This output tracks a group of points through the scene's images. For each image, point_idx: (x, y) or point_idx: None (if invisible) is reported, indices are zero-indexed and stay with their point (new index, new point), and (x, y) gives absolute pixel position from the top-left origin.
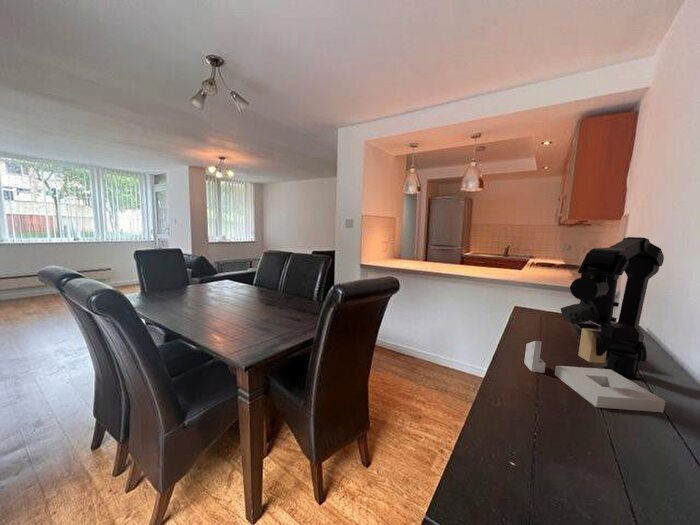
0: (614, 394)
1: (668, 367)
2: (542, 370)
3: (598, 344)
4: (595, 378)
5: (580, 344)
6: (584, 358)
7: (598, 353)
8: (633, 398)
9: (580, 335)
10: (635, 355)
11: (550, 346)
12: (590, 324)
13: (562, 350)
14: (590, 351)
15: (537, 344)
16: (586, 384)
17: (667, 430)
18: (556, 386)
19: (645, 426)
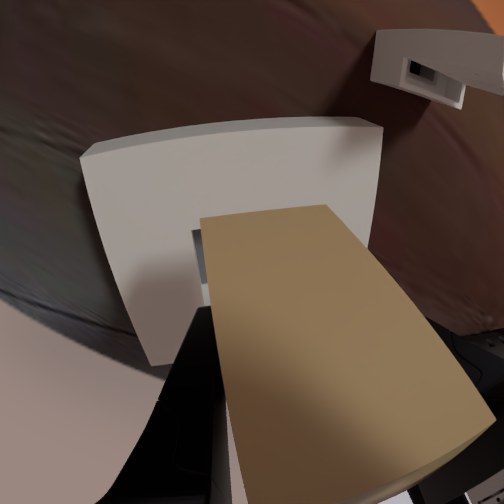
0: (125, 241)
1: None
2: (377, 73)
3: (169, 404)
4: None
5: (369, 263)
6: (257, 214)
7: (192, 326)
8: (122, 293)
9: (495, 330)
10: None
11: (500, 243)
12: (469, 487)
13: (480, 263)
14: (210, 278)
15: (484, 46)
16: (192, 163)
17: (48, 293)
18: (246, 54)
19: (37, 248)
